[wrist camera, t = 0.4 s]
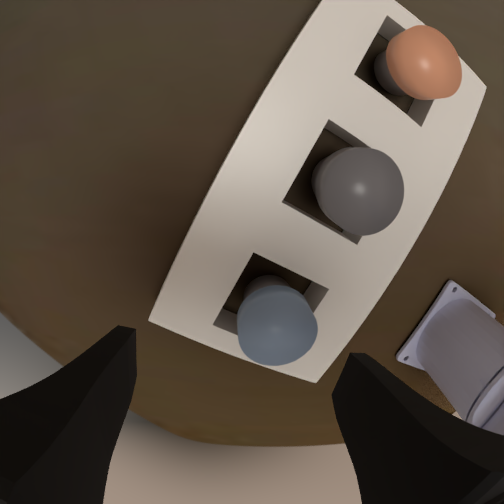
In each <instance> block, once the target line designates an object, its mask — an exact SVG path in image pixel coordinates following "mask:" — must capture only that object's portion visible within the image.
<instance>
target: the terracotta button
mask: <svg viewBox="0 0 504 504" xmlns="http://www.w3.org/2000/svg"><path fill="white" fill-rule="evenodd" d="M374 73H375V76H376V79H377V81H378V82H379V84H380V85H381V86H382V87H383V88H384V89H385V90H386V91H387V92H389V93H391V94H393V95H397V96H402V95H409V96H411V97H413V98H415V99H419V100H432V99H441V98H447V97H450V96H452V95H454V94H455V93H456V92H457V90H458V89H459V87H460V84H461V80H462V68H461V63H460V59H459V57H458V54H457V52H456V50H455V48H454V47H453V45H452V44H451V43H450V41H449V40H448V39H447V38H446V37H445V36H444V35H443V34H442V33H440V32H439V31H438V30H436V29H434V28H432V27H429V26H426V25H416V26H413V27H411V28H409V29H407V30H405V31H403V32H401V33H399V34H397V35H395V36H394V37H393V38H392V39H391V40H390V42H389V44H388V46H387V50H385V51H383V52H381V53H380V54H378V56H377V57H376V59H375V62H374Z"/></svg>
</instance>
